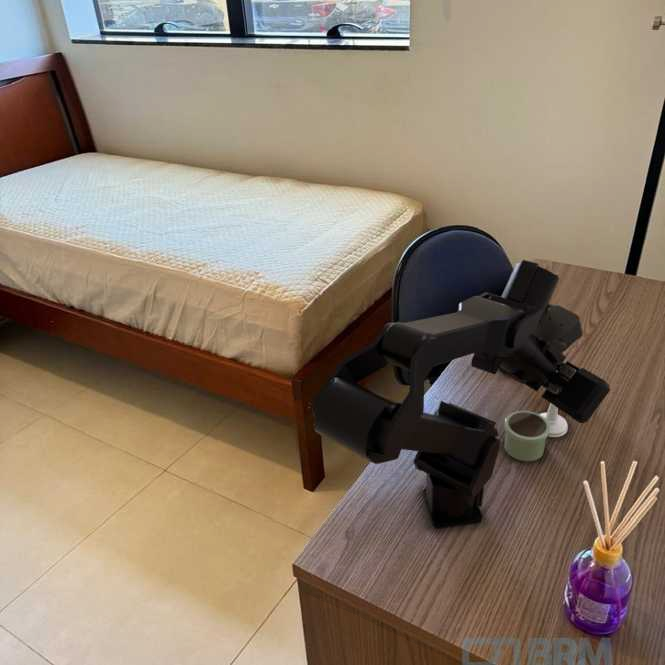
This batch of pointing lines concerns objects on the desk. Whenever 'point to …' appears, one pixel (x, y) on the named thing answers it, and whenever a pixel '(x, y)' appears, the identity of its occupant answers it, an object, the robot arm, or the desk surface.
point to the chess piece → (555, 422)
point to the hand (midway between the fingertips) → (563, 387)
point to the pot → (526, 435)
